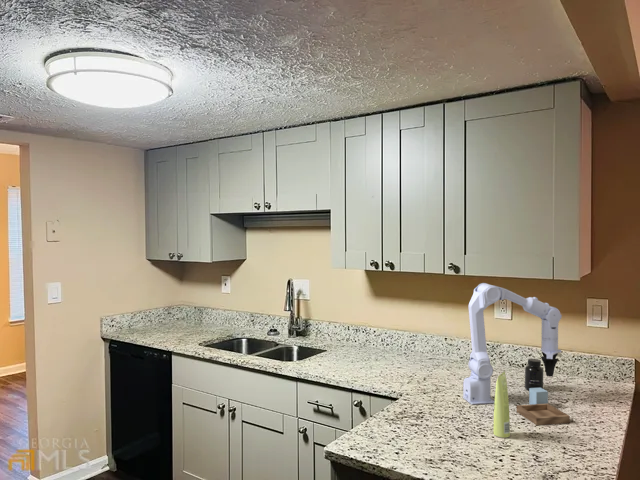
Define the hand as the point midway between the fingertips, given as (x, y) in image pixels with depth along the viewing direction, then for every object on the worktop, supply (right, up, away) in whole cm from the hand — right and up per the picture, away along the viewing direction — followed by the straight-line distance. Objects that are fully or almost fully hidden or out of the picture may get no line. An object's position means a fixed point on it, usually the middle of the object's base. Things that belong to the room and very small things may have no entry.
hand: (549, 373), depth 185 cm
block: (-7, -10, -7) cm, 14 cm away
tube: (-30, -11, -32) cm, 45 cm away
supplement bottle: (-1, -10, +11) cm, 15 cm away
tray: (-11, -10, -18) cm, 23 cm away
